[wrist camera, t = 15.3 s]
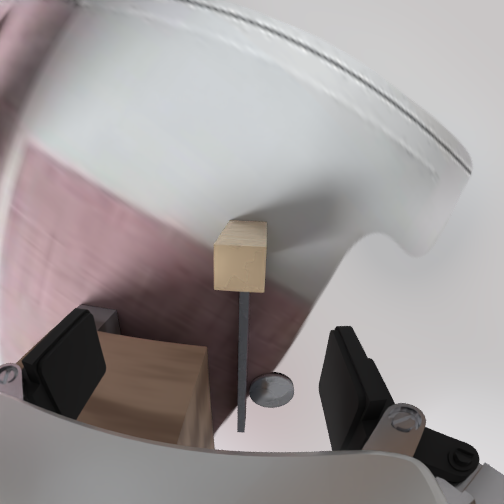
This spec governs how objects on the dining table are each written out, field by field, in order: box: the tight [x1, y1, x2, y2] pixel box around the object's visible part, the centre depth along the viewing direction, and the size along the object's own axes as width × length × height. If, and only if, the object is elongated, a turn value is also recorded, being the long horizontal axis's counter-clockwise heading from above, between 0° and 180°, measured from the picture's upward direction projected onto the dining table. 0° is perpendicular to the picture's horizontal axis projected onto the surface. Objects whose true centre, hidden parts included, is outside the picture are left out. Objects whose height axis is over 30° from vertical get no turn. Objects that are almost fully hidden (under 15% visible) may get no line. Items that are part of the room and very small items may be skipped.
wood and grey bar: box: [214, 220, 267, 432], centre depth 25 cm, size 24×3×8 cm, turn 178°
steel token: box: [249, 372, 294, 408], centre depth 31 cm, size 5×5×1 cm
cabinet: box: [16, 305, 215, 449], centre depth 22 cm, size 24×17×21 cm
